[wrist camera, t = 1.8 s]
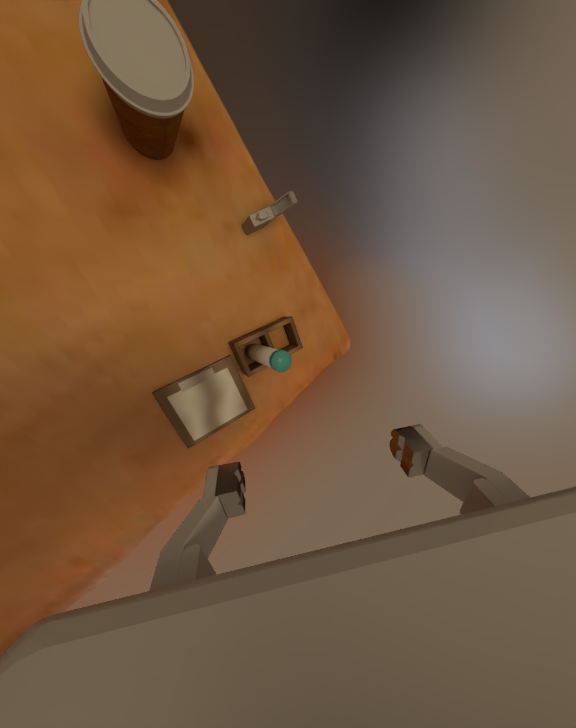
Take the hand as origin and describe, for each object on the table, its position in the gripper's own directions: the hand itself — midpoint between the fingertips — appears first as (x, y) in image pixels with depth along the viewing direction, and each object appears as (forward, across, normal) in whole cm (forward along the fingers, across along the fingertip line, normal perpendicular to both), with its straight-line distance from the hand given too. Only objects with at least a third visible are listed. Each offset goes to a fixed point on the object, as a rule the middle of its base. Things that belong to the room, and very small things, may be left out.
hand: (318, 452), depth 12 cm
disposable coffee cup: (+38, -13, +25) cm, 47 cm away
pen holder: (+34, -2, -8) cm, 35 cm away
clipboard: (+28, -14, -14) cm, 34 cm away
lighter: (+41, +1, +13) cm, 43 cm away
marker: (+33, -5, -8) cm, 34 cm away
